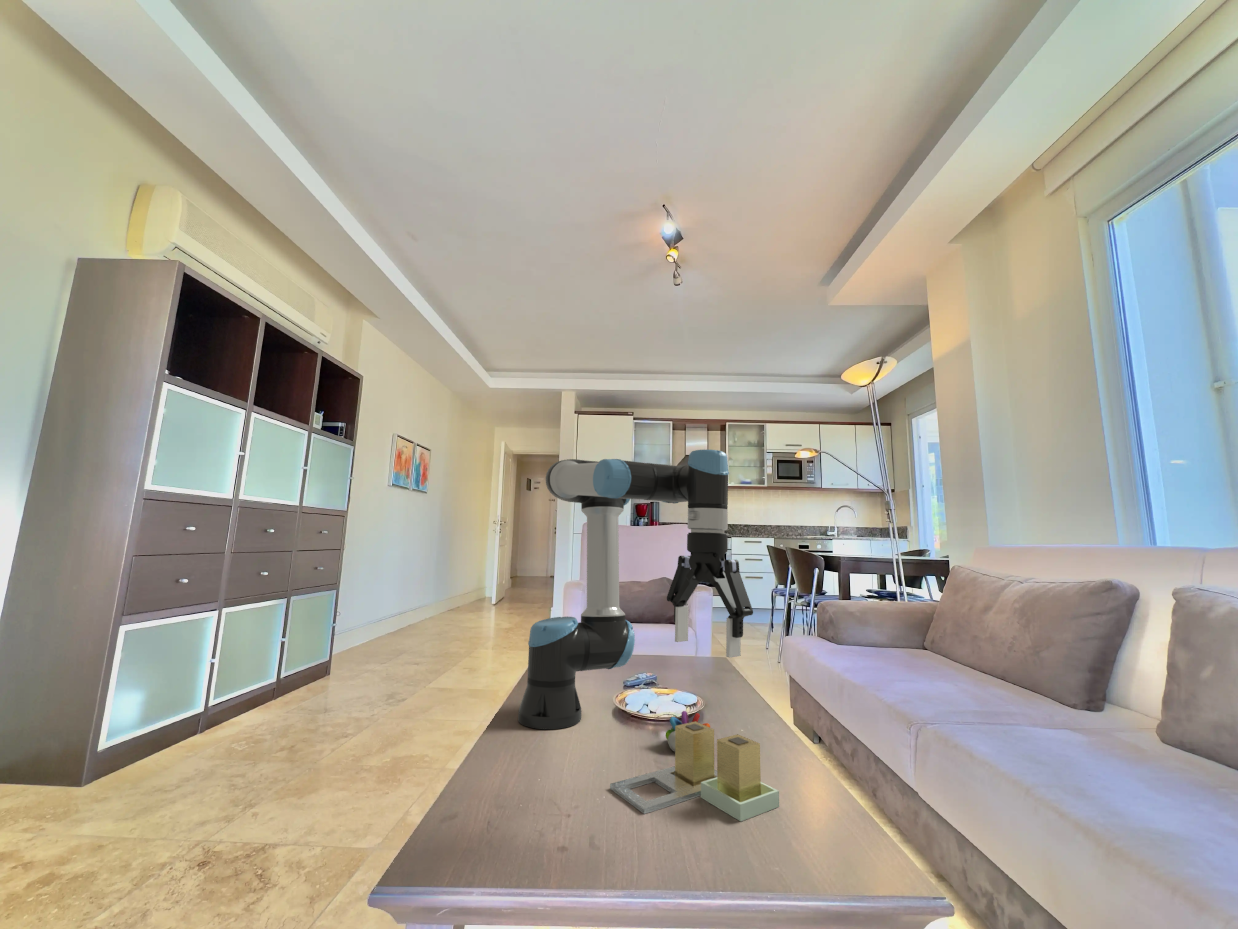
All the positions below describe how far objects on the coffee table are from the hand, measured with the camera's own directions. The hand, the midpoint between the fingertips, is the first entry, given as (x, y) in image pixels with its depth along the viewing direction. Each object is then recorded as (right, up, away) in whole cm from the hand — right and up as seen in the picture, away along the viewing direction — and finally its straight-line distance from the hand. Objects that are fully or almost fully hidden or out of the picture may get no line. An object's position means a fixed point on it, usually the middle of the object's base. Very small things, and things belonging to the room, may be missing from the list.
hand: (705, 648), depth 95 cm
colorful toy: (-1, -26, +14) cm, 30 cm away
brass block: (+4, -22, -9) cm, 24 cm away
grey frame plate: (-6, -23, -4) cm, 24 cm away
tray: (+4, -22, -9) cm, 24 cm away
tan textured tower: (-2, -24, -1) cm, 24 cm away
